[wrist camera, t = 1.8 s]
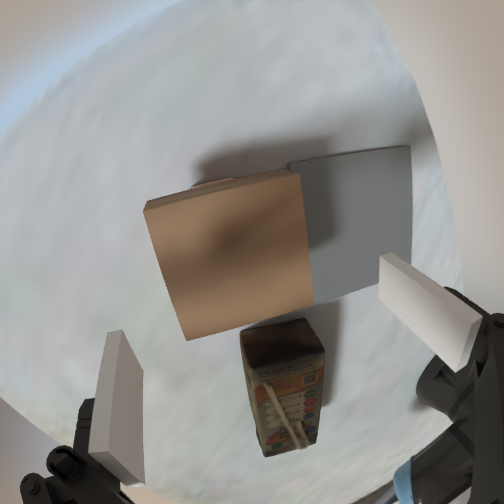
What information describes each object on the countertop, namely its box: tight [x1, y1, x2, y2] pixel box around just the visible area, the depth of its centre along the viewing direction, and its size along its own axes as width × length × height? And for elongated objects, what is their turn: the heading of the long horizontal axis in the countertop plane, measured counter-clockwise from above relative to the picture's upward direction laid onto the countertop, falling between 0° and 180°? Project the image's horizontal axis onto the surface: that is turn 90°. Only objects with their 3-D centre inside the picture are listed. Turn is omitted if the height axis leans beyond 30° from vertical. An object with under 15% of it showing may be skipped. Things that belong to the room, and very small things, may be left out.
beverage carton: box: [240, 318, 325, 457], centre depth 34 cm, size 8×19×7 cm, turn 6°
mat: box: [288, 146, 412, 307], centre depth 31 cm, size 15×14×1 cm
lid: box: [143, 169, 314, 341], centre depth 22 cm, size 10×10×3 cm
